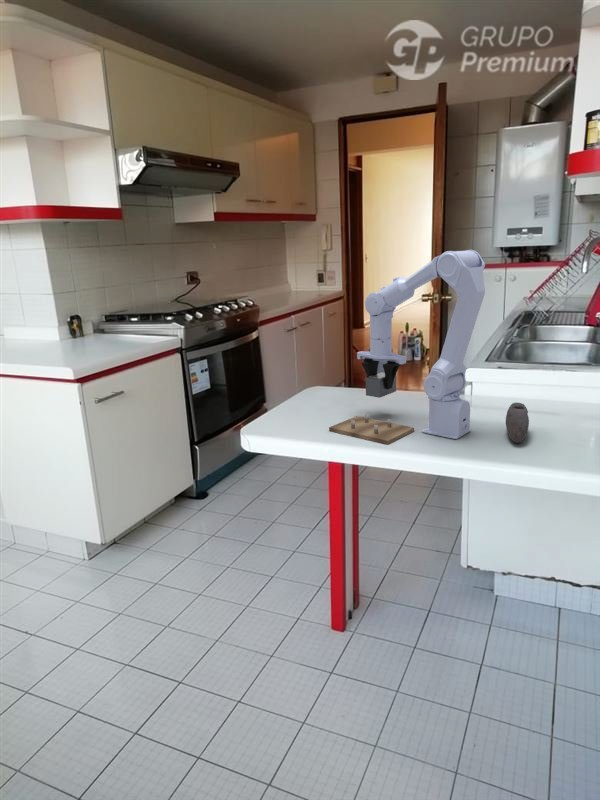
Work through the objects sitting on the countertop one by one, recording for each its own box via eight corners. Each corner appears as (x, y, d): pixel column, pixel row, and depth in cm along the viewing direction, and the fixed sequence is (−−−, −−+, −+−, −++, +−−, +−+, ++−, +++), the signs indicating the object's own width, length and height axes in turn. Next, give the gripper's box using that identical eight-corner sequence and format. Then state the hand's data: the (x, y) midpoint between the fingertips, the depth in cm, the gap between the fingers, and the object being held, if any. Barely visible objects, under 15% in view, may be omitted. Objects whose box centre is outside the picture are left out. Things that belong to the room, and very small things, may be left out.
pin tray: (414, 431, 142) (414, 420, 142) (387, 444, 134) (387, 432, 133) (356, 419, 154) (356, 409, 153) (329, 431, 146) (328, 419, 145)
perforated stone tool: (527, 448, 127) (529, 419, 126) (503, 446, 129) (504, 417, 128) (528, 428, 141) (529, 401, 139) (505, 427, 143) (507, 400, 141)
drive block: (396, 391, 155) (396, 373, 154) (379, 397, 150) (379, 379, 148) (382, 389, 158) (382, 371, 157) (365, 395, 153) (365, 377, 151)
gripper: (412, 337, 148) (412, 387, 152) (367, 333, 157) (367, 381, 161) (397, 341, 143) (397, 393, 147) (352, 337, 152) (353, 386, 156)
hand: (381, 387), depth 153 cm, fingers closed on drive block, 4 cm apart
